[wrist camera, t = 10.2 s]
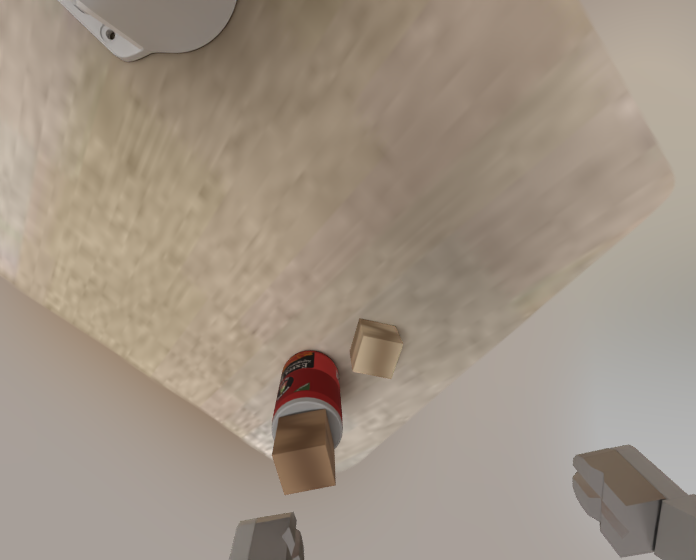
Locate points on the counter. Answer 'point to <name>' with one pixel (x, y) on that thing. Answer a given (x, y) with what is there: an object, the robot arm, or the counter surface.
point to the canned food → (310, 390)
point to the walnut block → (304, 452)
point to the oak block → (375, 349)
